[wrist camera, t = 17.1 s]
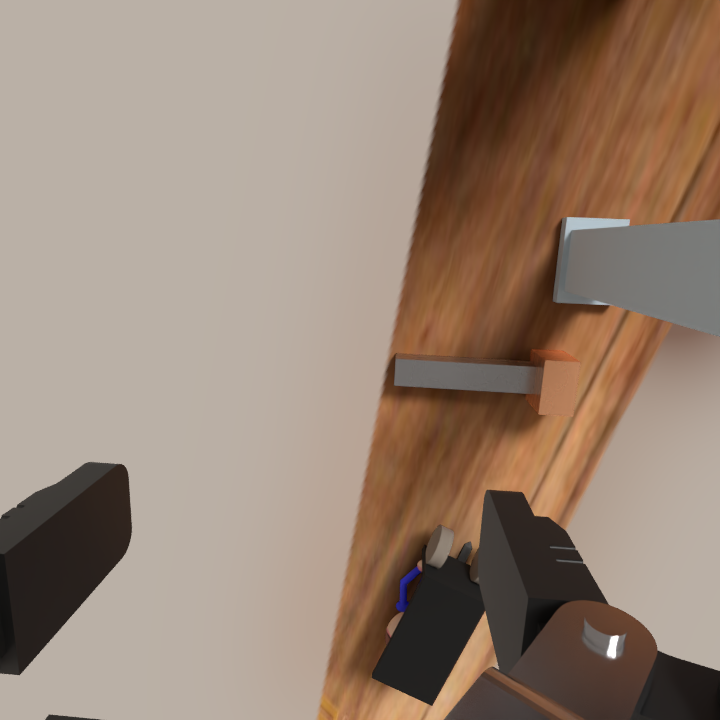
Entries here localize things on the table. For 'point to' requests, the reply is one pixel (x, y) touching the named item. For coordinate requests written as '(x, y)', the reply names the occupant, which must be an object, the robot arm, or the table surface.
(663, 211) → the table surface
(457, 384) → the grey handled tool
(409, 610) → the figurine character
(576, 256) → the post
